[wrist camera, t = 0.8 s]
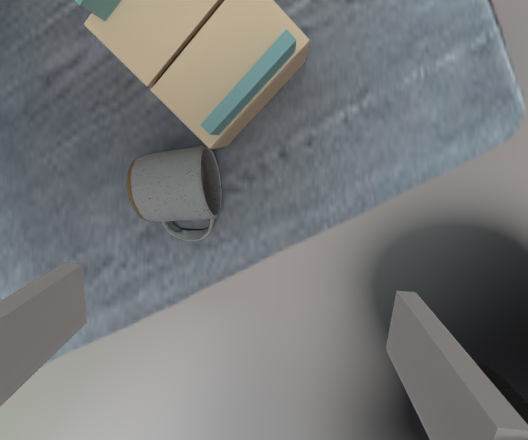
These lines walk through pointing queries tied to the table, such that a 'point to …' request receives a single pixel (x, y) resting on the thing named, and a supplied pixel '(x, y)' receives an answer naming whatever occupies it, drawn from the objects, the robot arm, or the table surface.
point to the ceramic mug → (177, 189)
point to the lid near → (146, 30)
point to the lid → (229, 66)
